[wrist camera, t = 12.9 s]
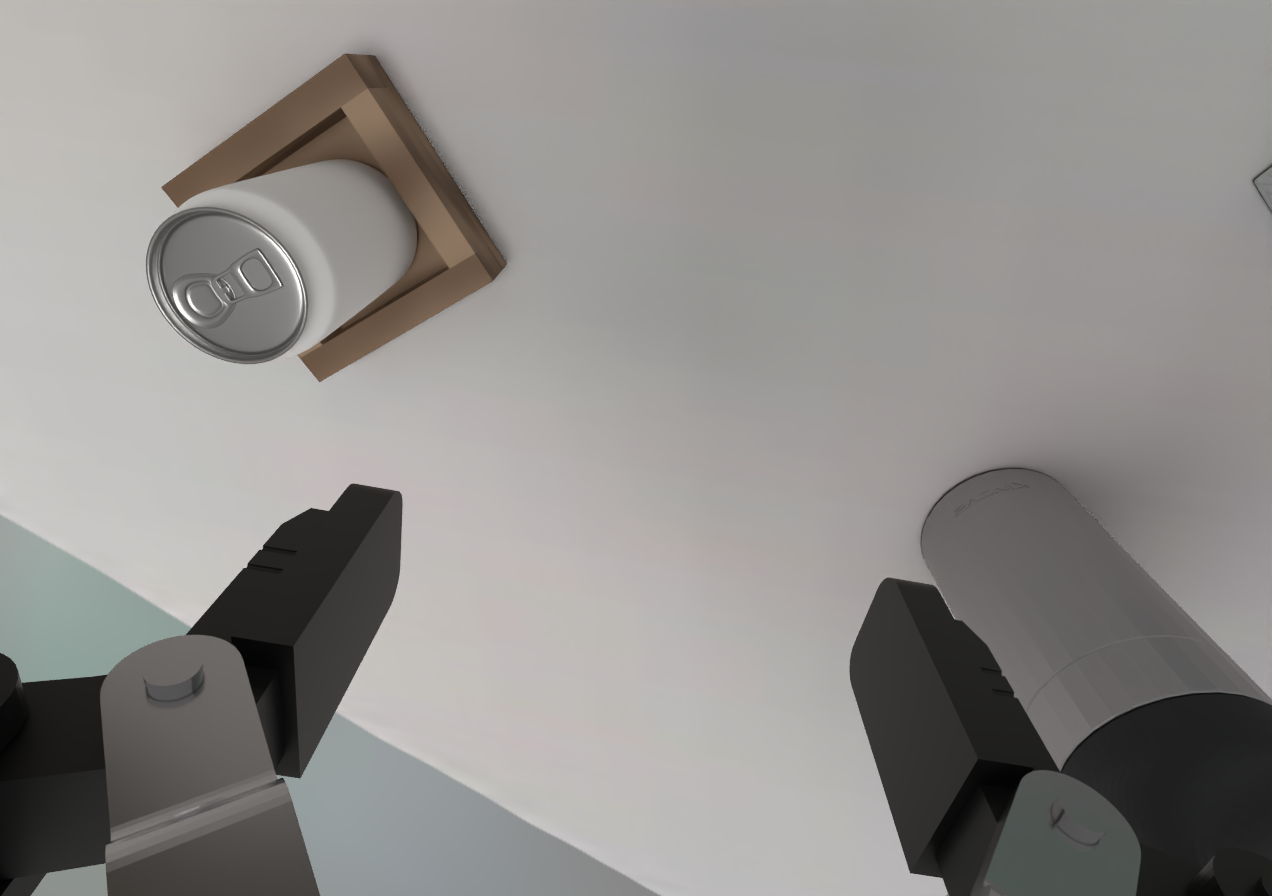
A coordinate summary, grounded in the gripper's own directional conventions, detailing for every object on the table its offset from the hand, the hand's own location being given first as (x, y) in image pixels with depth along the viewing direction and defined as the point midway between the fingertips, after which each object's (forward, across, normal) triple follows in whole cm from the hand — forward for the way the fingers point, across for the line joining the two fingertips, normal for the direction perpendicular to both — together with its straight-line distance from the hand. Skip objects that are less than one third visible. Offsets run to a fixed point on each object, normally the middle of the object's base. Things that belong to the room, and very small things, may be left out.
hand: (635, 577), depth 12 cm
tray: (+28, +15, +2) cm, 32 cm away
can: (+27, +15, +2) cm, 31 cm away
